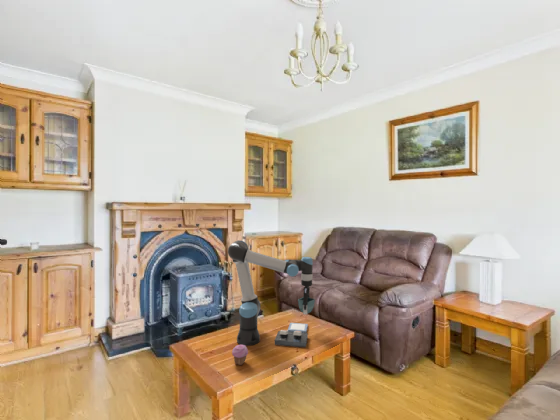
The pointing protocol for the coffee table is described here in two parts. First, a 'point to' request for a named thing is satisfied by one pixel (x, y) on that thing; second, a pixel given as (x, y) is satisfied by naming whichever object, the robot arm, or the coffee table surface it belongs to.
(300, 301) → the flower pot
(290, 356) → the coffee table surface
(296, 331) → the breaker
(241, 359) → the cupcake
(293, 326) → the pad
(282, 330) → the block
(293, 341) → the breaker panel
